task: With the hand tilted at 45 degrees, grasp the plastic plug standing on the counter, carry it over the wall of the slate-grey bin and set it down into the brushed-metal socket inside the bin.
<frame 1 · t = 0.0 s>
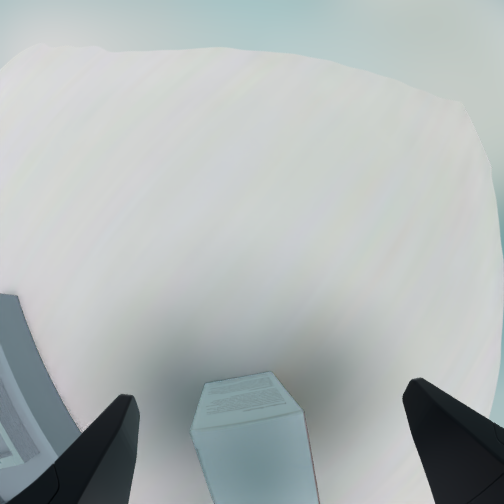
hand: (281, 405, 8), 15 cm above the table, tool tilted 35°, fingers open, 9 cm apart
bin: (2, 420, 19), on the table
small box: (247, 419, 22), on the table
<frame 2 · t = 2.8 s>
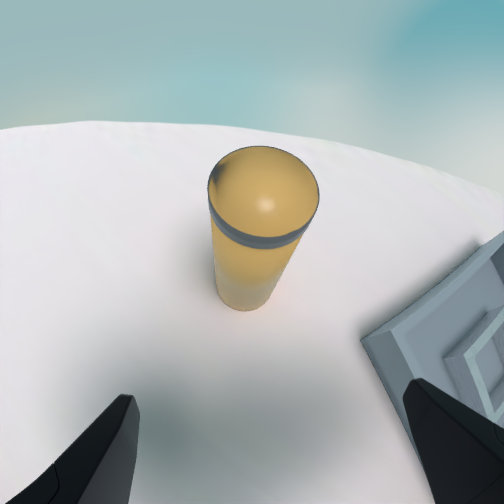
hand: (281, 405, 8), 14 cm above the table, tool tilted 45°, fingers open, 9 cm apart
socket: (492, 366, 20), in the bin, point 2 cm above the table
bin: (475, 369, 22), on the table
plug: (244, 283, 24), on the table
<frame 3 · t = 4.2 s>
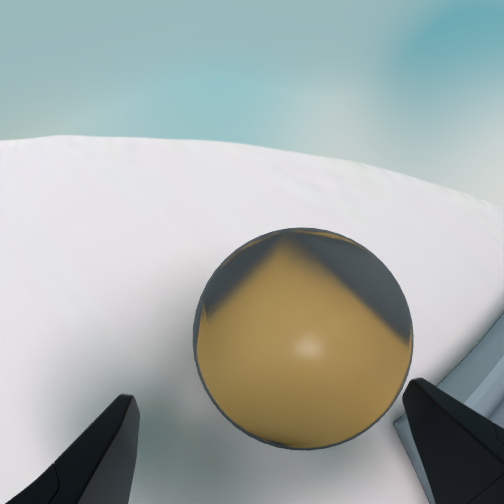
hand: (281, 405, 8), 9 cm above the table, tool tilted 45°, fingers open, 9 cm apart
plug: (253, 364, 17), on the table
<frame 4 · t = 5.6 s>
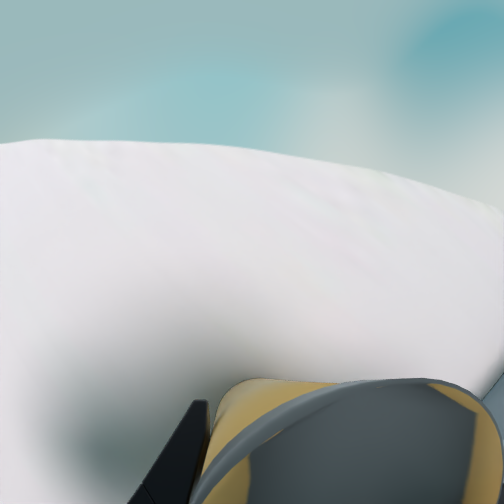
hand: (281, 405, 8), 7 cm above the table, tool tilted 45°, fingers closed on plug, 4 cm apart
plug: (259, 418, 14), on the table, touching gripper
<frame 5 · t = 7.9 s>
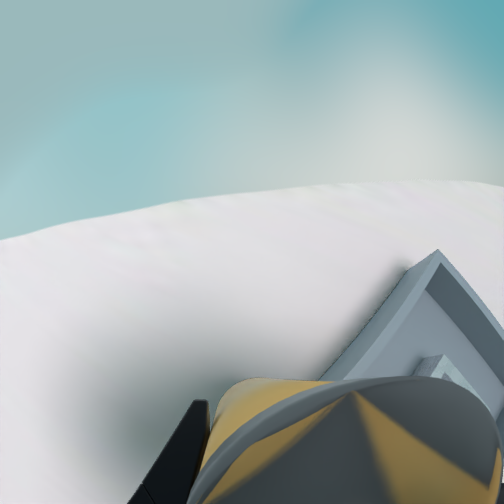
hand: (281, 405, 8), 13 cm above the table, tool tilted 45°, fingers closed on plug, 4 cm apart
socket: (432, 426, 18), in the bin, point 2 cm above the table
bin: (416, 423, 20), on the table
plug: (259, 418, 14), point 7 cm above the table, touching gripper
when the fingers open (9 cm above the table, at t = 10.4 s): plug drops 1 cm, resting on bin.
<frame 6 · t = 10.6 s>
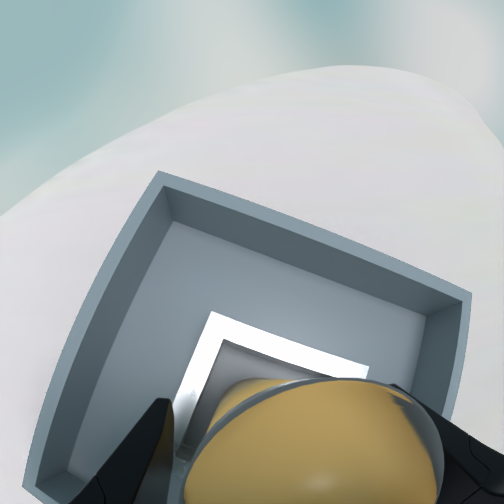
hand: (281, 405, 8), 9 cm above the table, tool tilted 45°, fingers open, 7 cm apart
socket: (259, 418, 14), in the bin, point 2 cm above the table
bin: (255, 412, 16), on the table
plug: (256, 415, 15), point 1 cm above the table, touching bin
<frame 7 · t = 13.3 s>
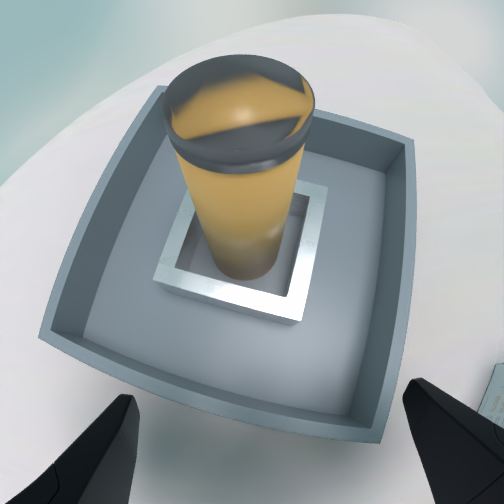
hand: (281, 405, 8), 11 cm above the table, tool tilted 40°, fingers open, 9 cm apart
socket: (245, 239, 19), in the bin, point 2 cm above the table
bin: (246, 253, 21), on the table
small box: (493, 413, 17), on the table
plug: (245, 248, 20), point 1 cm above the table, touching bin
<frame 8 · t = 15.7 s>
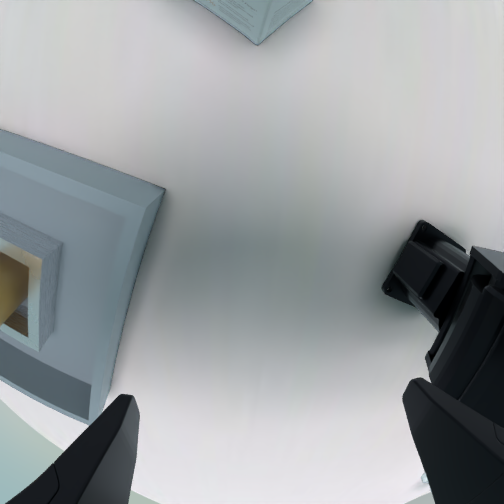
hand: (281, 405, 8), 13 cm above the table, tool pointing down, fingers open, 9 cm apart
socket: (6, 278, 17), in the bin, point 2 cm above the table
bin: (22, 264, 19), on the table
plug: (16, 270, 18), point 1 cm above the table, touching bin
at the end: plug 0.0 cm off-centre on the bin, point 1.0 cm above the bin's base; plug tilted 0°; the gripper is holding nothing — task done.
